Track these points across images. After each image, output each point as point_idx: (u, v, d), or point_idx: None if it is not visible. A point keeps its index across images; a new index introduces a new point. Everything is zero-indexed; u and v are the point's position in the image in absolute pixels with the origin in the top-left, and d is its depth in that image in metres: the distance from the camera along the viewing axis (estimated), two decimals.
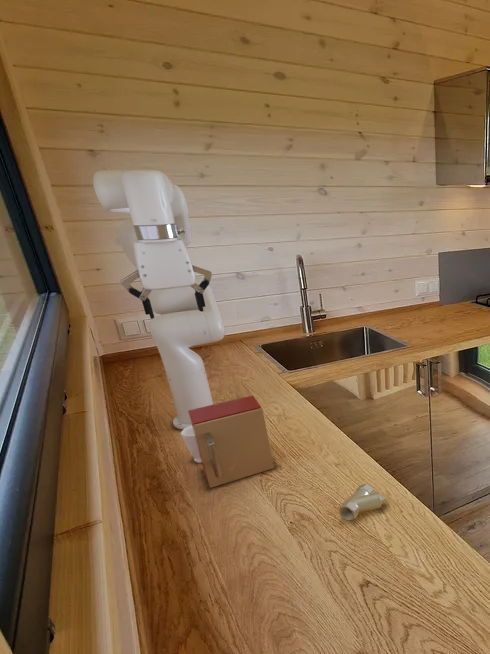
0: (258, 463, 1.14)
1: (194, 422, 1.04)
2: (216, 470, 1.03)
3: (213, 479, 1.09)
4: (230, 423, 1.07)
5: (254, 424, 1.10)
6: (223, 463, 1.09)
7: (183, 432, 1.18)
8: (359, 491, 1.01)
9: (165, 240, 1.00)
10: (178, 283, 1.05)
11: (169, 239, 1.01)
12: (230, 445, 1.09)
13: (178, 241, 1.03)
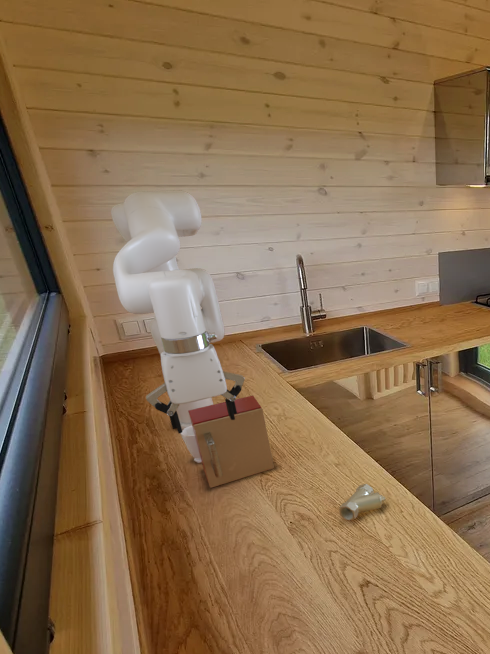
0: (258, 463, 1.14)
1: (194, 422, 1.04)
2: (216, 470, 1.03)
3: (213, 479, 1.09)
4: (230, 423, 1.07)
5: (254, 424, 1.10)
6: (223, 463, 1.09)
7: (183, 432, 1.18)
8: (359, 491, 1.01)
9: (196, 352, 0.90)
10: (209, 394, 0.95)
11: (200, 350, 0.91)
12: (230, 445, 1.09)
13: (209, 350, 0.93)
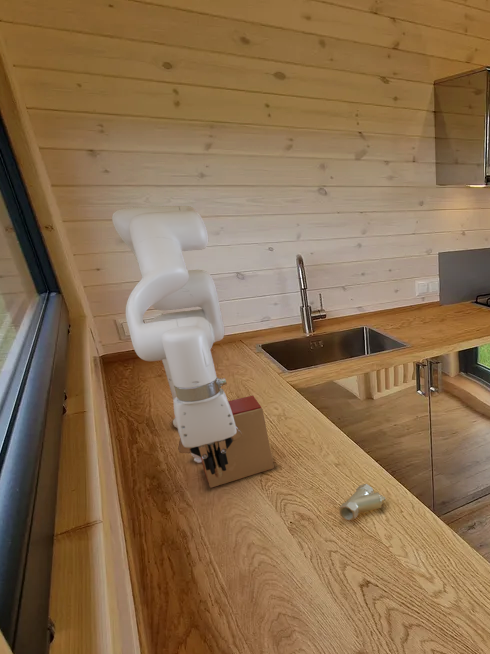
0: (258, 463, 1.14)
1: None
2: (216, 470, 1.03)
3: (213, 479, 1.09)
4: None
5: (254, 424, 1.10)
6: None
7: None
8: (359, 491, 1.01)
9: (207, 399, 0.94)
10: (219, 437, 0.99)
11: (211, 397, 0.94)
12: (230, 445, 1.09)
13: (220, 396, 0.96)
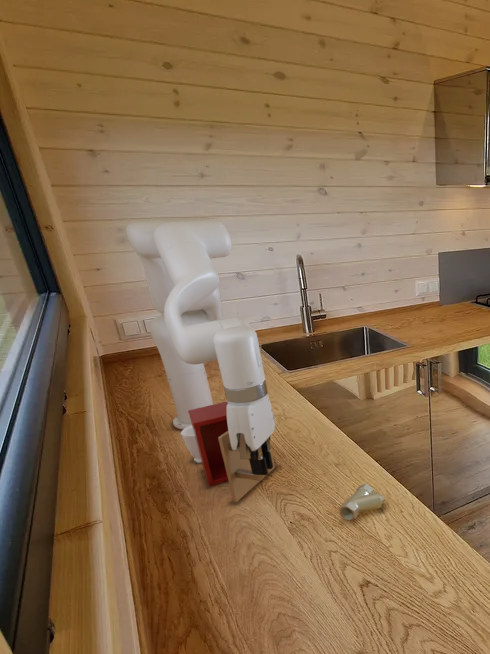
0: None
1: (194, 422, 1.04)
2: None
3: (238, 492, 1.04)
4: None
5: None
6: None
7: (183, 432, 1.18)
8: (359, 491, 1.01)
9: (267, 394, 0.96)
10: (269, 433, 1.00)
11: (267, 392, 0.96)
12: None
13: None
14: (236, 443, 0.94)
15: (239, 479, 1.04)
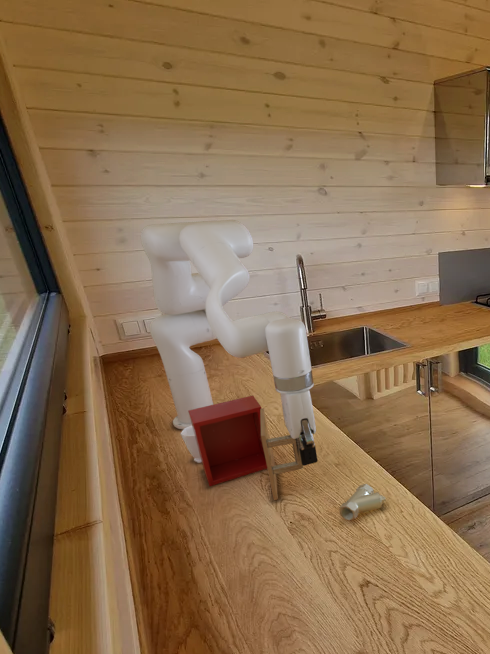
0: (274, 464, 1.13)
1: (194, 422, 1.04)
2: None
3: (276, 489, 1.05)
4: (265, 427, 1.05)
5: (266, 425, 1.10)
6: None
7: (183, 432, 1.18)
8: (359, 491, 1.01)
9: None
10: None
11: None
12: None
13: None
14: (300, 430, 0.98)
15: (274, 477, 1.05)
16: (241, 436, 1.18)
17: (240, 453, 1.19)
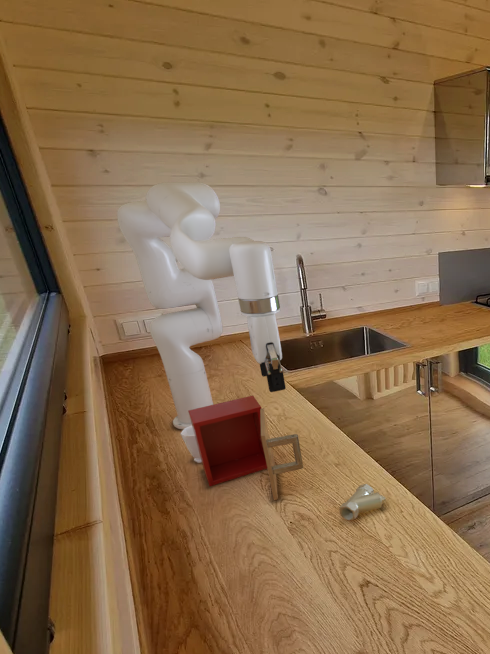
0: (274, 464, 1.13)
1: (194, 422, 1.04)
2: (301, 460, 1.06)
3: (276, 489, 1.05)
4: (265, 427, 1.05)
5: (266, 425, 1.10)
6: None
7: (183, 432, 1.18)
8: (359, 491, 1.01)
9: None
10: None
11: None
12: None
13: None
14: (265, 354, 0.98)
15: (274, 477, 1.05)
16: (241, 436, 1.18)
17: (240, 453, 1.19)
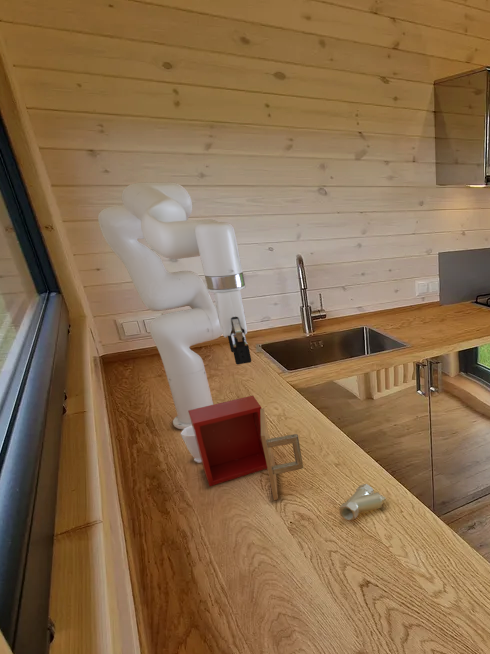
0: (274, 464, 1.13)
1: (194, 422, 1.04)
2: (301, 460, 1.06)
3: (276, 489, 1.05)
4: (265, 427, 1.05)
5: (266, 425, 1.10)
6: None
7: (183, 432, 1.18)
8: (359, 491, 1.01)
9: None
10: None
11: None
12: None
13: None
14: (230, 328, 1.04)
15: (274, 477, 1.05)
16: (241, 436, 1.18)
17: (240, 453, 1.19)
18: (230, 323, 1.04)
